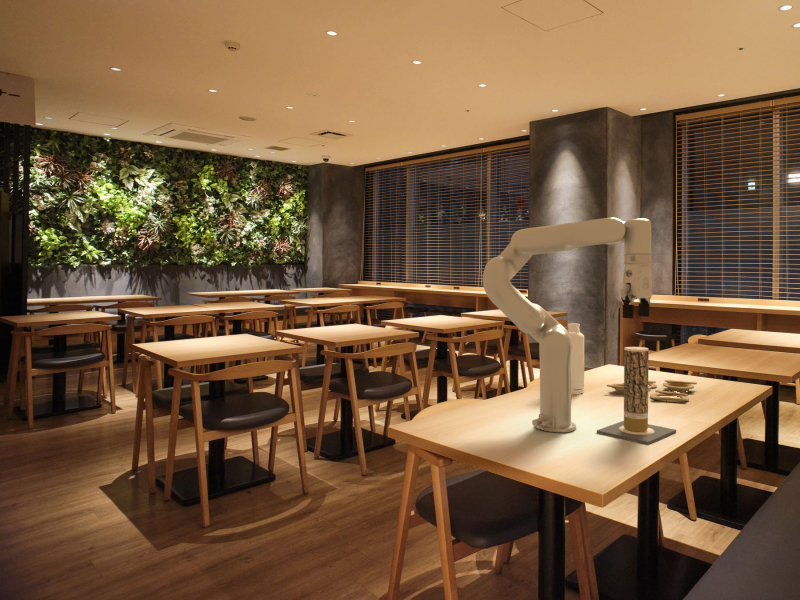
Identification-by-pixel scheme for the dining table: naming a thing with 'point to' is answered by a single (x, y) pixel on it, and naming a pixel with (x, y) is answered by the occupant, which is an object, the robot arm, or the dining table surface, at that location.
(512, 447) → the dining table surface
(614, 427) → the card
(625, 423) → the bark-textured tube
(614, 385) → the tableware set
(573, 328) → the bottle
